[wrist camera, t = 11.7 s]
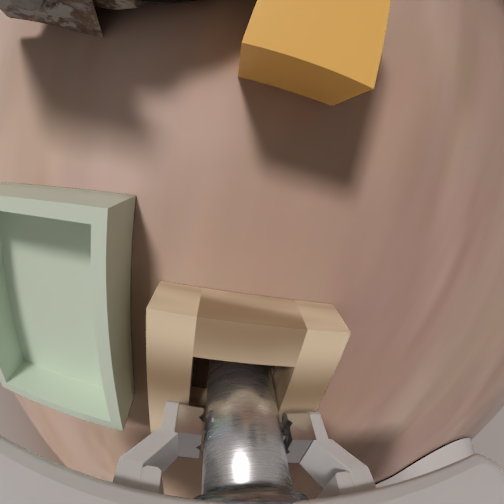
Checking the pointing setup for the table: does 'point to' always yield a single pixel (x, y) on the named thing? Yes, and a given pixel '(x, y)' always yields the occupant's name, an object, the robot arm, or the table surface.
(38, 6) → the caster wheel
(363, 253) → the table surface
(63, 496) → the robot arm
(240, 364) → the stop pin
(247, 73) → the chock
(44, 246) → the tray
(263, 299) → the pin stand
